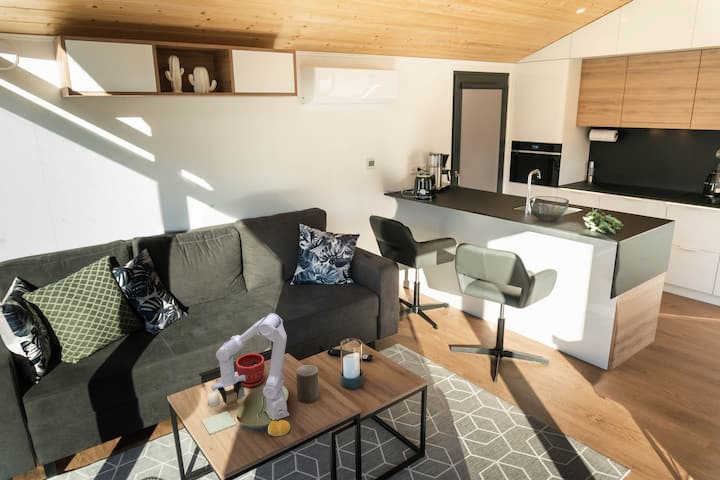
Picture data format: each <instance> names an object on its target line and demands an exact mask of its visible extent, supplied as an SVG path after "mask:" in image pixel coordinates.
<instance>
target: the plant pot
mask: <svg viewBox="0 0 720 480" xmlns="http://www.w3.org/2000/svg"><path fill="white" fill-rule="evenodd" d="M253 362H256V364H254V363H253ZM235 366H236V373H237V376H241V375H244V376H245V378H246V380H245V381H240V382H241V384H242V387H247V388H252V387H257V386H258V385H259V386H260V384H262V383H263V382H264V379H265V376H264V374H265V367H266V366H265V358H264V356H263V355H261V354H260V353H247V354H244V355H241V356H239V357H238V358H237V359H236V361H235Z"/></svg>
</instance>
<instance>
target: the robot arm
mask: <svg viewBox="0 0 720 480" xmlns="http://www.w3.org/2000/svg"><path fill="white" fill-rule="evenodd" d="M283 323H284V322H283V319H282V318H281V317H280V316H279V315H278V314H277V313H272V312H271V313H268V314H267V315H266V316H264V317H262V318H261V319H259V320H258V321H256V322H255V323H254V324H253V325H252V326H250V327H249V328H248V329H247V330H246V331H245V332H244V333H242V334H237V335H233V336H231V337H230V339H229V340H228V341H227V342H226V341H225V342H224V343H223V345H222V346H220V348H219V349H218V350H217V351H216V353H215V357H216V359H217V360H218V362H219V369H220V371H219V372H220V378H221V379H220V381H218V382H216V383H214V384H212V385H211V386H210V387H211V390H212V391H218V392H219V395H220V396H221V397H222V401H223V404H225V403H226V391H227V390H226V389H225V387H231V386H232V387H233V388H234V391H235V392H236V393H237V400H239V399H238V394H239V390H240V388H241V387H243V385H242V384H241V382H240V381H245V380H246V378H245V376H244V375H241V376H238V375H236V374H235V364H234V355H235V354H236V353H238V352H239V351H240V350H242V349H243V348H244V347H245V346H246V343H247V341H249V340H250V339H251V338H252V337H255V335H258V336H259V337H260V336H263V337H265V338H266V339H268V340H269V341H271V342H272V350H271V358H270V365H269V372H268V377H267V380H266V381H265V386H264V387H263V389H262V394H263V396H264V397H265V400H266V401H265V403H266V404H265V405H266V409H267V413H268V414H270V415H272V416H273V417H274V418H275V419H276V420H275V421H279V420H282V419H283V418H286V417H289V416H290V413H289V412H288V405H287V401H286V400H285V398H284V390H283V387H284V385H285V378H284V373H282V372H283V365H284V360H285V351H286V345H287V333H286V331H285V328H284V324H283Z"/></svg>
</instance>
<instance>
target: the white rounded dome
mask: <svg viewBox="0 0 720 480" xmlns="http://www.w3.org/2000/svg"><path fill="white" fill-rule="evenodd" d="M220 396H221V395H220V392H219V391H218V390H215V391H209V392H208V393H207V396H206V397H207V403H208V407H210V408H217V407H218V406H220V405H221V399H220Z"/></svg>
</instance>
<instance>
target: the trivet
mask: <svg viewBox="0 0 720 480" xmlns="http://www.w3.org/2000/svg"><path fill="white" fill-rule="evenodd" d="M201 422H202V424H203V426H204V427H205V429H206V431H207V432H208V434H209V436H213V435H215V434H216V433H220V432H222V431H224V430H227V429H229V428H232V427H236V426H237V422H236V421H235V420H234V419H233V417H232V416H231V415H230V413H229V411H228V410H226V411H223V412H221V413H218V414H215V415H212V416H210V417H206V418H204V419H201Z"/></svg>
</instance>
